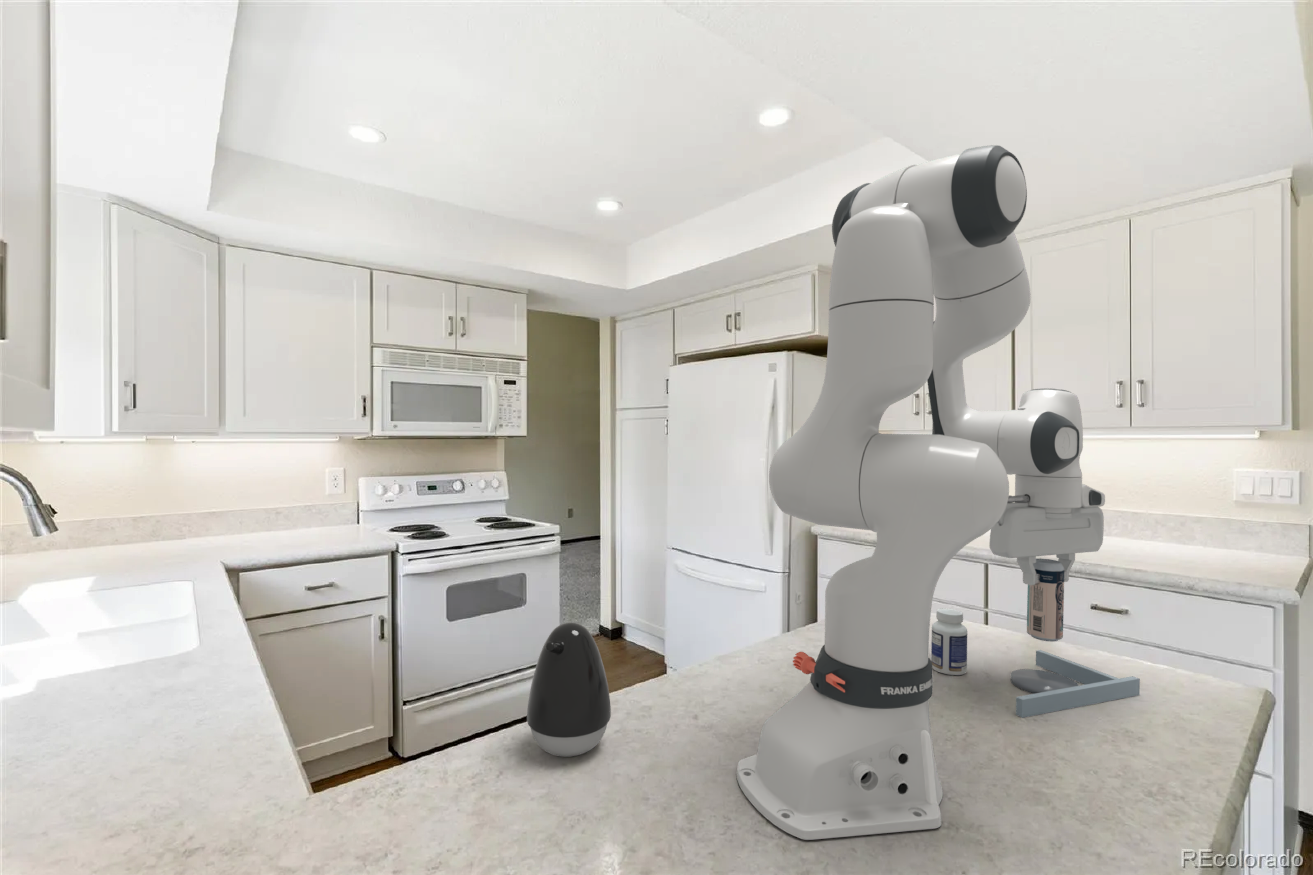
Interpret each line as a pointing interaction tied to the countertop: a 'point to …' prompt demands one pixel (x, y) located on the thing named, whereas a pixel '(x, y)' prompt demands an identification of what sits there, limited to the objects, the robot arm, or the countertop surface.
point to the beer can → (1046, 602)
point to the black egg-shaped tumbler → (569, 693)
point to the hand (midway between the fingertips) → (1045, 582)
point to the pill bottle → (949, 643)
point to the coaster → (1039, 680)
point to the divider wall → (1074, 688)
